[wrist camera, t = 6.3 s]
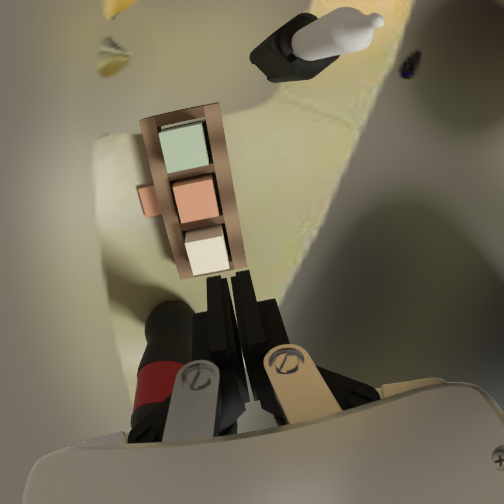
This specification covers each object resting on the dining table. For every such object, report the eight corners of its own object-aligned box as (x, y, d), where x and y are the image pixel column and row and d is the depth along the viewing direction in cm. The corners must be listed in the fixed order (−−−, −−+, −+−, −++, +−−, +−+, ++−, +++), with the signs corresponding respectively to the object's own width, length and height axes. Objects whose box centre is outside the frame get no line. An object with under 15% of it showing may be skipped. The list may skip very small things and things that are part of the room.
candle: (245, 56, 33) (308, 3, 11) (276, 31, 31) (379, -39, 10) (274, 86, 35) (376, 86, 13) (304, 61, 34) (436, 39, 12)
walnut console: (144, 118, 34) (139, 120, 32) (218, 102, 35) (219, 103, 32) (181, 267, 45) (180, 279, 42) (244, 255, 45) (247, 266, 43)
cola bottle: (148, 334, 50) (129, 511, 24) (147, 293, 46) (117, 489, 20) (198, 339, 51) (207, 516, 25) (203, 298, 48) (214, 496, 21)
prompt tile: (138, 188, 38) (138, 189, 38) (156, 183, 39) (156, 185, 38) (146, 216, 40) (146, 218, 40) (164, 212, 41) (163, 214, 40)
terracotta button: (175, 178, 38) (172, 187, 35) (211, 170, 39) (211, 179, 35) (183, 211, 41) (181, 223, 37) (217, 204, 41) (219, 215, 37)
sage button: (163, 129, 34) (158, 133, 31) (201, 120, 34) (201, 123, 31) (171, 165, 36) (167, 173, 33) (208, 157, 37) (208, 164, 33)
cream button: (186, 229, 40) (184, 243, 37) (221, 222, 41) (222, 236, 37) (194, 259, 43) (193, 275, 39) (227, 253, 43) (229, 268, 39)
